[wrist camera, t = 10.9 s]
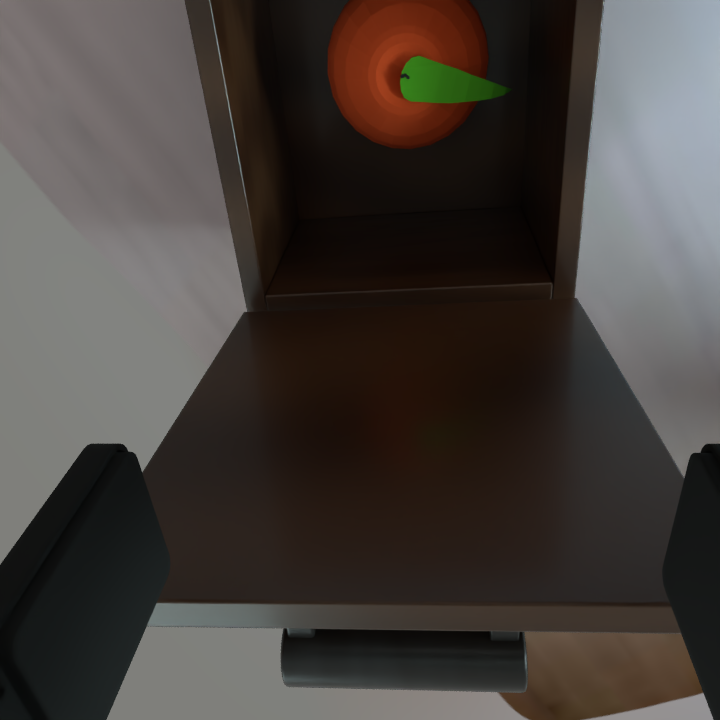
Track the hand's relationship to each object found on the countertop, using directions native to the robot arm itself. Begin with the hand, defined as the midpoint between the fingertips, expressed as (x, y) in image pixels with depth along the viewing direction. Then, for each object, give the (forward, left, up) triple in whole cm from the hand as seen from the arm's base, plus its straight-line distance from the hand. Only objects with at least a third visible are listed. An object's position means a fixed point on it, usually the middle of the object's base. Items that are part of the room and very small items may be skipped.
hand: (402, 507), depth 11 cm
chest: (0, -3, -27) cm, 27 cm away
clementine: (0, -4, -26) cm, 26 cm away
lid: (0, +3, -8) cm, 9 cm away
